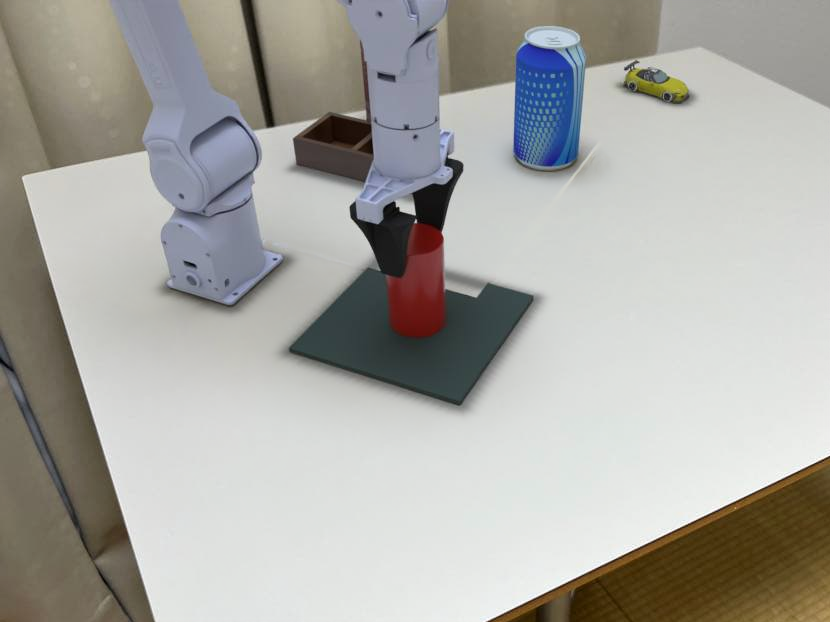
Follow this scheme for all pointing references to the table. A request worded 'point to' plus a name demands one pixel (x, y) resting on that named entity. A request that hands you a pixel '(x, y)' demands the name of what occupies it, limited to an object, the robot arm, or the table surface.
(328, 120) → the holder
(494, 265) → the table surface
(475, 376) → the mat
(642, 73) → the toy car
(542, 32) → the beer can
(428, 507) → the table surface
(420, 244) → the can
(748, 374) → the table surface
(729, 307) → the table surface
